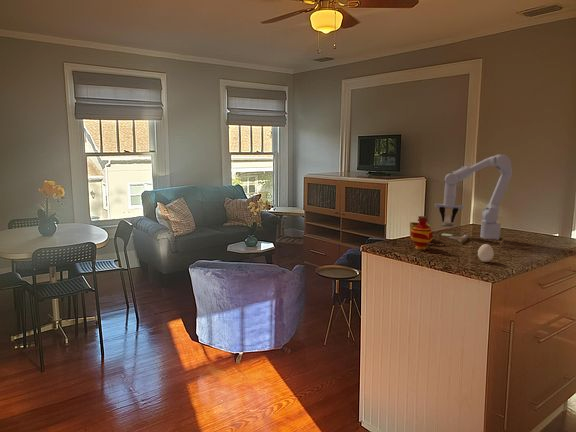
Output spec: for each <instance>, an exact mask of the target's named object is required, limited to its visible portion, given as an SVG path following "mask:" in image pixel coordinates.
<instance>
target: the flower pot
mask: <svg viewBox="0 0 576 432" xmlns="http://www.w3.org/2000/svg"><path fill="white" fill-rule="evenodd" d="M418 224H419V222H413V221H412V222H409V234H410V233H411V229H412V228H413V227H415V226H417V225H418ZM426 226H429V227H430V228H431V225H430V224H429V223H427V222H426Z"/></svg>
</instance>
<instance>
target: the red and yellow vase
mask: <svg viewBox="0 0 576 432" xmlns="http://www.w3.org/2000/svg"><path fill="white" fill-rule="evenodd" d="M417 217H418V219H417V221H418V223H419V224H418V225H417V226H415V227H413V228H412V229H411V233H410V232H409V236H410V239H411V241H412V242H413V243H414V245H415V247H414V249H416V250H426V249H427V246H428V245H429V244H430V243H431V242H432V240H433V238H434V237H433V236H434V235H433V230H432V229H431V226H430V227H429V226H426V223H427V222H428V216H423V215H422V216H417Z"/></svg>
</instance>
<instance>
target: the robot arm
mask: <svg viewBox="0 0 576 432" xmlns="http://www.w3.org/2000/svg"><path fill="white" fill-rule="evenodd" d="M486 167H495V168H497V170H498V172H499V173H500V176H499V178H498V181H497V182H496V186H495V188H494V189H493V193H492V195H491V197H490V199H489V203H487V205H486V207H485V209H483V210H482V211H481V218H482V220H481V224H480V238H482V239H486V240H499V241H500V238H501V227H502V226H501V225H502V223H499V222H498V219H499V212H500V205H501V203H502V201H503V197H504V196H505V193H506V191H507V188H508V186H509V183H510V181H511V179H512V176H513V167H512V160H511V159H510V158H509V156H508V155H506V154H499V153H498V154H495V155H494V156H493V155H492V156H490V157H486V158H484V159H482V160H481V161H479V162H477V163H475V164H473V165H470V166H466V165H465V166H464V165H462V166H461V167H460V168H459V169H457V170H453V171H451V172H452V173H447V174H446V175H445V177H444V178H443V179H444V182H445V183H444V191H443V192H444V194H443V203H434V206H433V207H434V208H436V209H437V208H438V210H439V213H440V215H441V221H442V223H444V215H446V209H451V210H452V212H451V213H452V214H451V215H452V222H451V223H452V224H454V221H455V217H456V215H457V214H458V212H459V210H461V211H462V210H465V205H462V204H456V198H457V197H456V195H457V184H458V182H461V181H463V180H466V179H467V178H470V177H471V176H472V175H473V173H475V172H477V171H479V170H481V169H484V168H486Z"/></svg>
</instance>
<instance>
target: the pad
mask: <svg viewBox="0 0 576 432" xmlns="http://www.w3.org/2000/svg"><path fill="white" fill-rule="evenodd" d="M441 236H442V237H443V236H445V237H450V236H454V235H453V233H451V234H450V233H442V234H441Z"/></svg>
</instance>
